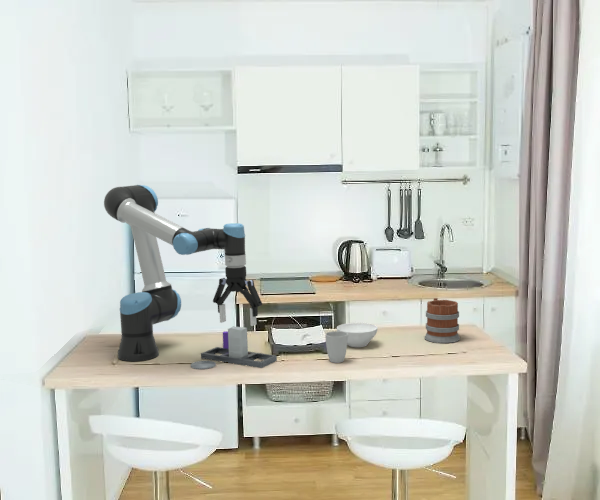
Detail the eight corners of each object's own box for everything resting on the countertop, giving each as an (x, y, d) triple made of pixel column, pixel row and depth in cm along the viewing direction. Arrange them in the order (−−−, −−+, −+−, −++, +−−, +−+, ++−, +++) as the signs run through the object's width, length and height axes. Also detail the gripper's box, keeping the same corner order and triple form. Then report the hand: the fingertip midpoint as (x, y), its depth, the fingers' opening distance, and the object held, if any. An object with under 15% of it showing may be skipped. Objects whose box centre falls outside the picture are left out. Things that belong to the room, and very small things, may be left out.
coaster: (185, 367, 273) (185, 365, 273) (201, 360, 281) (201, 359, 281) (205, 370, 269) (205, 369, 269) (220, 364, 276) (220, 362, 276)
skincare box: (248, 359, 282) (247, 327, 280) (242, 362, 278) (241, 330, 277) (234, 357, 285) (233, 326, 283) (228, 360, 281) (227, 328, 279)
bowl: (379, 350, 291) (379, 332, 290) (337, 350, 291) (337, 332, 290) (376, 339, 307) (375, 322, 306) (336, 340, 307) (335, 322, 306)
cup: (350, 358, 280) (350, 332, 279) (344, 364, 273) (344, 337, 271) (329, 356, 283) (329, 330, 281) (322, 363, 275) (322, 335, 274)
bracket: (240, 350, 296) (240, 332, 295) (223, 349, 297) (222, 332, 296) (245, 341, 308) (244, 325, 307) (228, 341, 308) (227, 325, 307)
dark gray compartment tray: (200, 358, 284) (200, 353, 284) (217, 351, 293) (216, 346, 292) (261, 368, 270) (261, 362, 270) (276, 360, 279) (276, 355, 279)
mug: (428, 344, 298) (429, 306, 296) (418, 332, 317) (418, 296, 315) (464, 343, 298) (464, 305, 296) (451, 331, 317) (451, 295, 315)
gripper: (201, 265, 280) (204, 322, 283) (258, 269, 267) (260, 328, 270) (214, 263, 286) (216, 318, 289) (270, 266, 274) (272, 324, 276)
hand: (238, 323), depth 279 cm, fingers open, 13 cm apart
